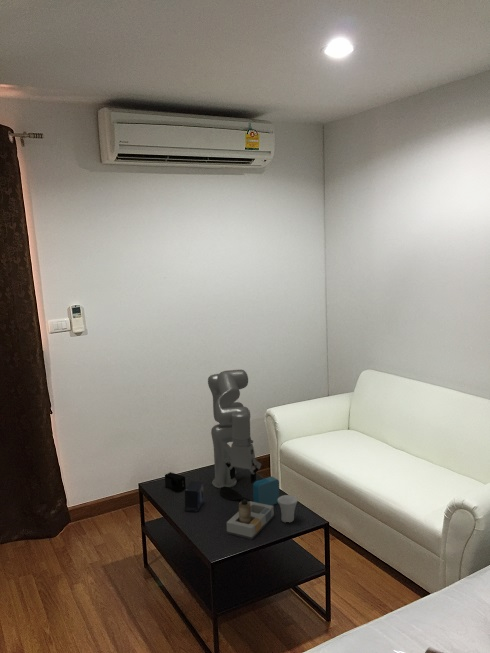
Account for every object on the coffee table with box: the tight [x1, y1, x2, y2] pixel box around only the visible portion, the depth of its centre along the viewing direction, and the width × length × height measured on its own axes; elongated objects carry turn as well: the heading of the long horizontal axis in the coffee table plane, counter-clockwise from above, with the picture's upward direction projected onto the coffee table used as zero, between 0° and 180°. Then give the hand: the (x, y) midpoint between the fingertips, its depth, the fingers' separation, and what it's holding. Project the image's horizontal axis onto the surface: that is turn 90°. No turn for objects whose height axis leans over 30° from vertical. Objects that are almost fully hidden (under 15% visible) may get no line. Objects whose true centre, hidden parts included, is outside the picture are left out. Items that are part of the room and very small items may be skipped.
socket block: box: [226, 500, 275, 540], centre depth 233 cm, size 22×12×5 cm, turn 152°
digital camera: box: [164, 471, 187, 493], centre depth 272 cm, size 10×5×7 cm, turn 53°
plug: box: [238, 499, 251, 524], centre depth 228 cm, size 5×5×12 cm
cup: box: [277, 494, 299, 523], centre depth 236 cm, size 9×9×10 cm
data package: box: [252, 476, 280, 506], centre depth 251 cm, size 12×4×12 cm, turn 124°
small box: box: [184, 480, 205, 513], centre depth 251 cm, size 11×6×10 cm, turn 168°
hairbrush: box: [219, 486, 254, 502], centre depth 258 cm, size 8×4×25 cm
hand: (243, 480), depth 227 cm, fingers open, 9 cm apart
